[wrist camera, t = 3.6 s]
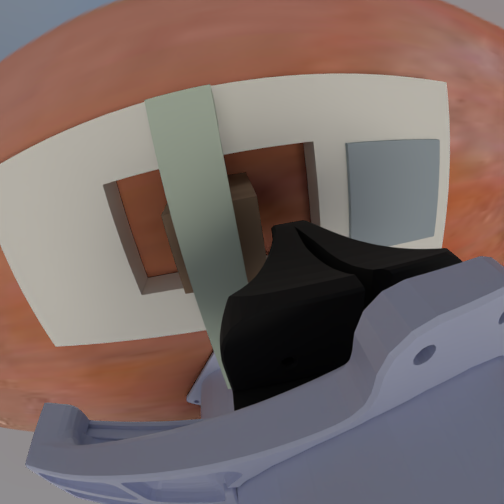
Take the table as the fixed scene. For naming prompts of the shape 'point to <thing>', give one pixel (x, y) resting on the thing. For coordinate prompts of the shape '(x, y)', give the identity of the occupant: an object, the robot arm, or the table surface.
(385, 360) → the robot arm
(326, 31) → the table surface
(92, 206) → the puzzle board
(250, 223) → the walnut block
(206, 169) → the sliding bridge
